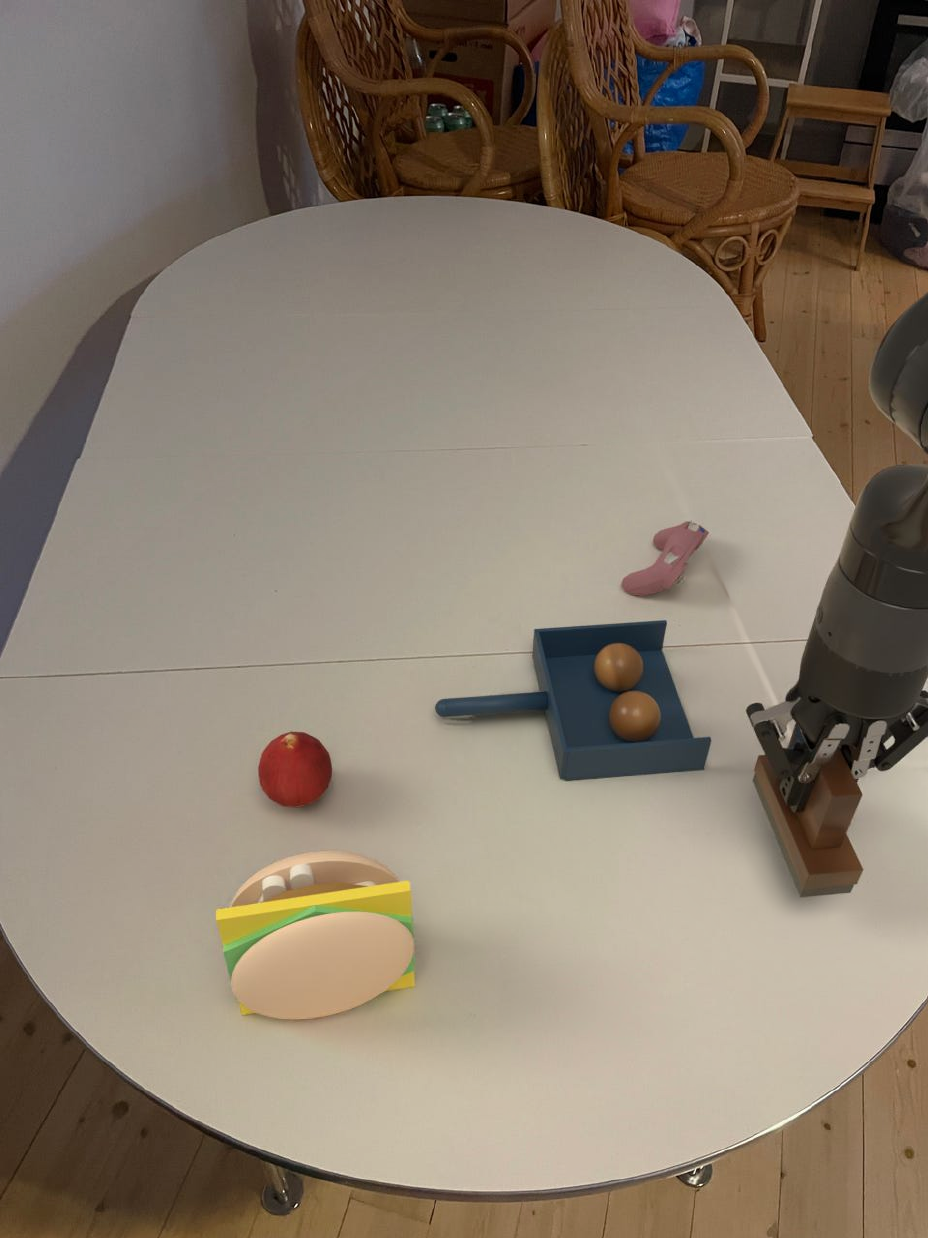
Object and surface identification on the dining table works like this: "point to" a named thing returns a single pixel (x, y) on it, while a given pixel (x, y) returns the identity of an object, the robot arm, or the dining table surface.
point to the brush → (815, 827)
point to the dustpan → (597, 704)
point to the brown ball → (618, 667)
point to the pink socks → (667, 559)
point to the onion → (295, 769)
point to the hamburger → (317, 935)
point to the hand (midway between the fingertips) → (812, 800)
